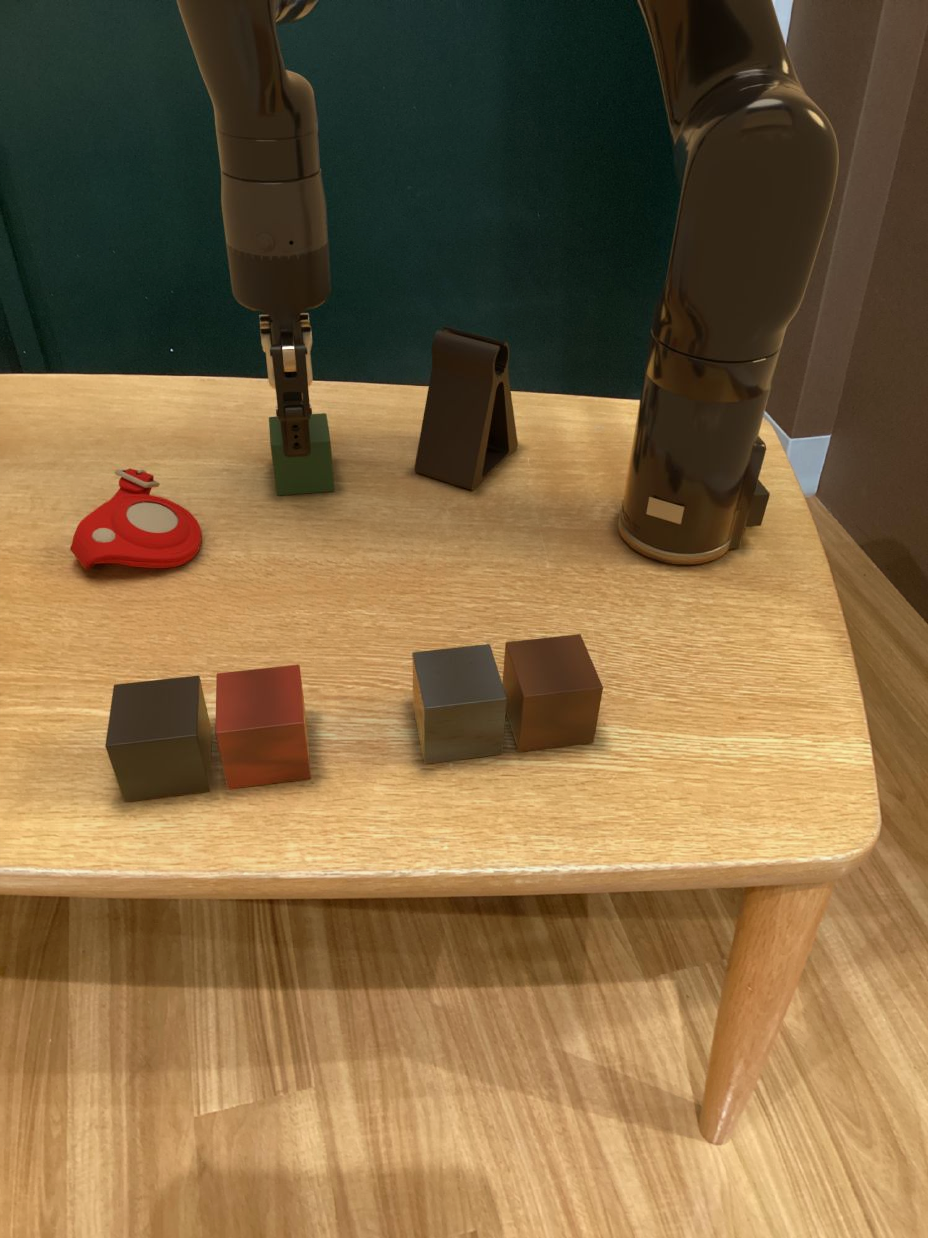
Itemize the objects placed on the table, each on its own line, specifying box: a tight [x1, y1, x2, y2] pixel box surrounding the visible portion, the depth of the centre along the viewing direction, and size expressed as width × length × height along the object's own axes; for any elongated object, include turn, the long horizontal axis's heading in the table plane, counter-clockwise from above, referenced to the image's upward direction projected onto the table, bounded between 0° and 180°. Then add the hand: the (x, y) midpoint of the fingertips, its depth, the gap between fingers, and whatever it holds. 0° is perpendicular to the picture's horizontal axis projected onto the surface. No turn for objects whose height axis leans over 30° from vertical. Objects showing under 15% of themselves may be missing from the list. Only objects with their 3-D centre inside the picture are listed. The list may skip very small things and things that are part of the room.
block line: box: [104, 633, 604, 803], centre depth 57 cm, size 29×5×5 cm, turn 101°
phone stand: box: [413, 325, 519, 491], centre depth 81 cm, size 9×6×12 cm, turn 150°
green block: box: [268, 412, 335, 497], centre depth 81 cm, size 5×5×5 cm
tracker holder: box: [69, 468, 202, 570], centre depth 73 cm, size 12×4×10 cm
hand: (294, 429), depth 79 cm, fingers open, 8 cm apart
